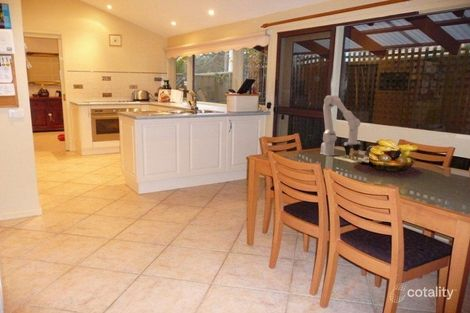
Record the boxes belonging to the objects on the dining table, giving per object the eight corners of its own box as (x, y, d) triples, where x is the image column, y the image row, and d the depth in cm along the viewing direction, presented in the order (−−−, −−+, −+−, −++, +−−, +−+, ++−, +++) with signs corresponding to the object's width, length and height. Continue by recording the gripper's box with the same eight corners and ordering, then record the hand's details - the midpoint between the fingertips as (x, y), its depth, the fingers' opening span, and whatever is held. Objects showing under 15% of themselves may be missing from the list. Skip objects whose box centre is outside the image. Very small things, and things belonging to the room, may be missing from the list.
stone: (358, 166, 235) (359, 145, 239) (364, 170, 241) (365, 150, 245) (379, 165, 225) (379, 143, 229) (384, 169, 232) (385, 147, 236)
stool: (357, 159, 247) (358, 151, 246) (352, 160, 244) (353, 151, 243) (349, 157, 254) (350, 149, 252) (344, 157, 251) (345, 149, 250)
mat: (333, 157, 253) (333, 157, 253) (348, 156, 261) (349, 155, 261) (352, 163, 238) (352, 162, 238) (368, 161, 246) (368, 160, 246)
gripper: (350, 137, 239) (348, 156, 242) (364, 136, 246) (362, 155, 249) (342, 135, 245) (340, 154, 248) (356, 134, 252) (354, 153, 255)
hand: (351, 154), depth 249 cm, fingers open, 7 cm apart
